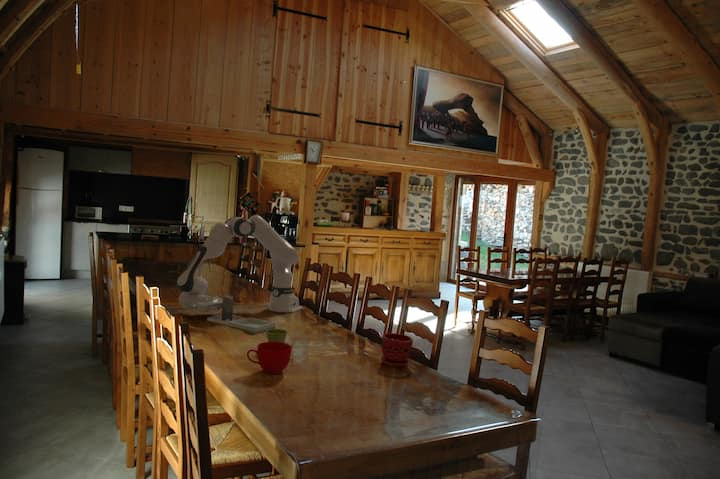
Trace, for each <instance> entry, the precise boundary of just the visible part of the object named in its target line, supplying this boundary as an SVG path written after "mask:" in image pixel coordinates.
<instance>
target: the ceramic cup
mask: <svg viewBox="0 0 720 479" xmlns="http://www.w3.org/2000/svg"><path fill="white" fill-rule="evenodd" d="M292 349H293V348H292V345H290V344H289V343H286V342H284V343H281V342H268V341H266V342H264V341H263V342H261V343H258V344H257V350H256V349H255V348H254V349H249V350H248V351H247V352H246V358H247V360H249V362H251V363H253V364H257V365H259V366H260V368H261V369H262V370H263V372H264V371H265V372H266V373H265V372H264V373H265V374H268V373H271V374H270V375H278V374H277V373H279V374H282V372H283V371H285V369H286V368H287V366H288V365H289V362H290V359H291V354H292ZM251 352H254V353H255V354H256V355H257V359H258V361H257V360H253V359H251V357H250V356H249V354H250V353H251Z"/></svg>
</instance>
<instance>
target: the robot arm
mask: <svg viewBox="0 0 720 479" xmlns="http://www.w3.org/2000/svg"><path fill="white" fill-rule="evenodd" d="M250 235H253V237H254V238H255V239H256V240H257V241H258V242H259V243H260V244H261V246H263V247H264V248H265V249H266V250H267V251H269V256H270V258H271V263H272V264H271V265H272V271H273V275H272V276H273V280H272V286H271V294H270V296H269V301H268V302H269V303H268V305H267V307H266V308H267V309H268V310H269V311H271V312H277V313H296V312H298V311H300V310H303V309H302V308H303V306H301V305H300V299H299V298H298V296H296V295H295V294H294V291H296V287H295V286H292V282H293V273H292V271H291V265H295V264H296V263H298V262H299V259H300V252H299V251H298V250H297V249H296V248H295V247H294V246H293V245H291V244H290V242H288V241H287V240H286V239H285V238H284V237H282V236H281V235H280V234H279V233H278V232H277V231H276V230H275V229H274V228H273V227H272V226H271V224H270V223H269V222H267V221H266V220H265V219H264V218H263V217H262V216H260V215H259V214H255V215H252V216H250V217H249V218H245V217H241V216H232V217H230V218H228V219H227V220H226V221H225V222H223V221H222V222H216V223H215V224H214V226H213V227H212V229H211V230H210V232H209V234H208V236H207V238H206V240H205V241H204V243H203V244H202V245H201V246H199V247H198V248H197V249H196V250H195V252H194V254H193V255H192V257H191V258H190V260H189V261H188V263H187V265H186V267H185V268H184V270H183V271H182V272H181V273H180V275H179V276H178V277H177V280H176V286H177V289H178V290H179V291H180V292H181V293H180V294H179V296H178V302H179V305H180V306H181V307H183V308H185V309H187V310H193V311H194V310H195V311H197V312H200V313H208V312H212V311H215V312H218V311H219V310H222V304H223V297H222V298H221V297H219V296H217V295H207V293H208V290H209V282H208V280H207V279H206V278H204V277H201V276H197V275H196V273H197V272H198V270H199V268H200V267H201V265H202V263H204V262H205V261H206V260H208V259H214V258H218V257H220V256H222V255H223V253H225V249H226V247H227V246H228V243H229V241H230V239H231V238H232V237H233V236H234V237H238V238H245V237H249V236H250Z"/></svg>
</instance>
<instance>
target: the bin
mask: <svg viewBox="0 0 720 479" xmlns="http://www.w3.org/2000/svg"><path fill="white" fill-rule="evenodd" d="M245 318H246V319H242V320H238V321H233V322H230V325H229V327H232V328H236V329H240V330H243V331H244V332H246V333H250V334H253V333H254V335H255V334H260V333H262V332H266V331H267V330H269V329H276V322H274V321H269V320H265V319H260V318H255V317H245Z"/></svg>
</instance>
